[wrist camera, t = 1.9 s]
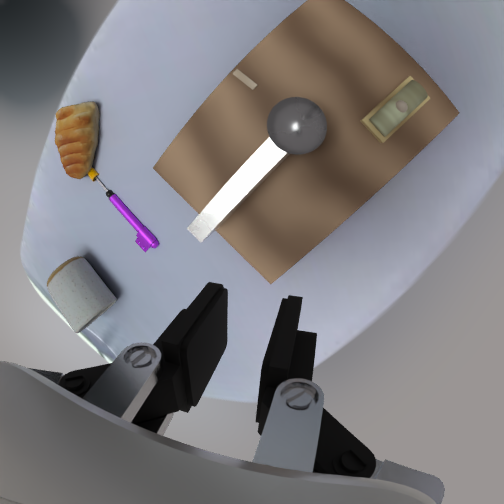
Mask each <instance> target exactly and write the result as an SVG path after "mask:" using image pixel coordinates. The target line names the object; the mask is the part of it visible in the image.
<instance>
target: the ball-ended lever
mask: <svg viewBox="0 0 504 504" xmlns="http://www.w3.org/2000/svg"><path fill="white" fill-rule="evenodd" d="M267 131H268V134H269V138H268V139H267V140H266V141H265V142H264V143H263V145H262V146H261V147H260V148H259V149H258V150H257V151H256V152H255V153H254V154H253V155H252V156H251V157H250V158H249V159H248V160H247V161H246V163H245V164H244V165H243V166H242V167H241V168H240V169H239V170H238V171H237V172H236V173H235V174H234V176H233V177H232V178H231V179H230V180H229V181H228V182H227V183H226V184H225V185H224V187H223V188H222V189H221V190H220V191H219V192H218V193H217V194H216V196H215V197H214V198H213V199H212V200H211V201H210V202H209V204H208V205H207V206H206V207H205V208H204V209H203V210H202V212H201V213H200V214H199V215H198V216H197V217H196V219H195V220H194V221H193V222H192V223H191V224H190V226H189V227H188V228H187V229H188V230H189V231H190V232H191V233H192V234H193V235H194V236H195V237H196V238H197V239H198V240H199V241H200V242H203V241H204V240H205V239H206V238H207V237H208V236H210V235H211V234H212V233H213V232H214V231H216V230H217V229H218V228H219V227H220V226H221V225H222V224H223V223H224V222H225V221H226V219H227V218H228V217H229V216H230V215H231V214H232V213H233V212H234V211H235V210H236V209H237V208H238V207H239V206H240V205H241V204H242V203H243V202H244V201H245V199H246V198H247V197H248V196H249V195H250V194H251V193H252V192H253V191H254V190H255V189H256V188H257V187H258V186H259V185H260V184H261V183H262V182H263V181H264V180H265V179H266V178H267V177H268V176H269V175H270V174H271V173H272V172H273V171H274V170H275V169H276V168H277V167H278V166H279V165H280V164H281V163H282V162H283V161H284V160H285V159H286V158H287V157H288V156H289V155H290V154H294V155H302V154H306V153H309V152H311V151H313V150H315V149H317V148H318V147H319V146H320V145H321V144H322V142H323V141H324V139H325V136H326V132H327V121H326V117H325V115H324V113H323V111H322V110H321V108H320V107H319V106H318V105H317V104H315V103H314V102H313V101H311V100H309V99H306V98H302V97H290V98H286V99H284V100H282V101H280V102H278V103H277V104H276V105H275V106H274V107H273V108H272V110H271V111H270V113H269V116H268V119H267Z"/></svg>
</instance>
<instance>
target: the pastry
mask: <svg viewBox="0 0 504 504" xmlns="http://www.w3.org/2000/svg"><path fill="white" fill-rule="evenodd" d="M99 117H100V113H99V109H98V106H97V105H96V103H95V102H84V103H81V104H76V105H71V106H66V107H62V108H61V109H59V110H58V111H57V113H56V118H57V122H56V130H55V134H56V136H55V144H56V145H57V147H58V151H59V153H60V156H61V162H62V164H63V167H64V169H65V171H66V174H68V175H69V176H70V177H73V178H77V179H81V178H83V177H84V176H85V175H86V174H87V173H88V172H89V171H90V170H91V167H92V165H93V160H94V158H95V156H94V154H95V150H96V148H97V144H98V135H99V126H98V124H99Z"/></svg>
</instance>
